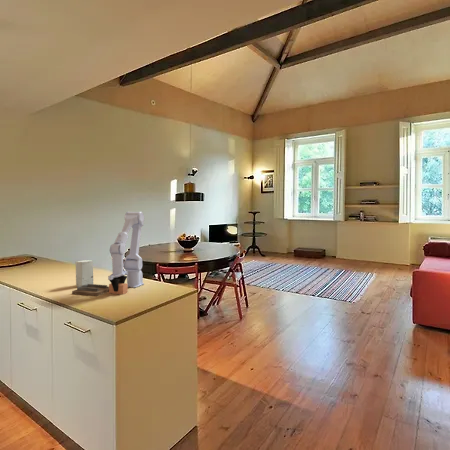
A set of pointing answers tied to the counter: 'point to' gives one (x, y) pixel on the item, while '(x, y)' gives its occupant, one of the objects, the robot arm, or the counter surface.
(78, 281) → the skincare box
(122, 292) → the terracotta cardboard box
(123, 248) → the robot arm
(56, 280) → the counter surface
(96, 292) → the display stand
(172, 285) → the counter surface
